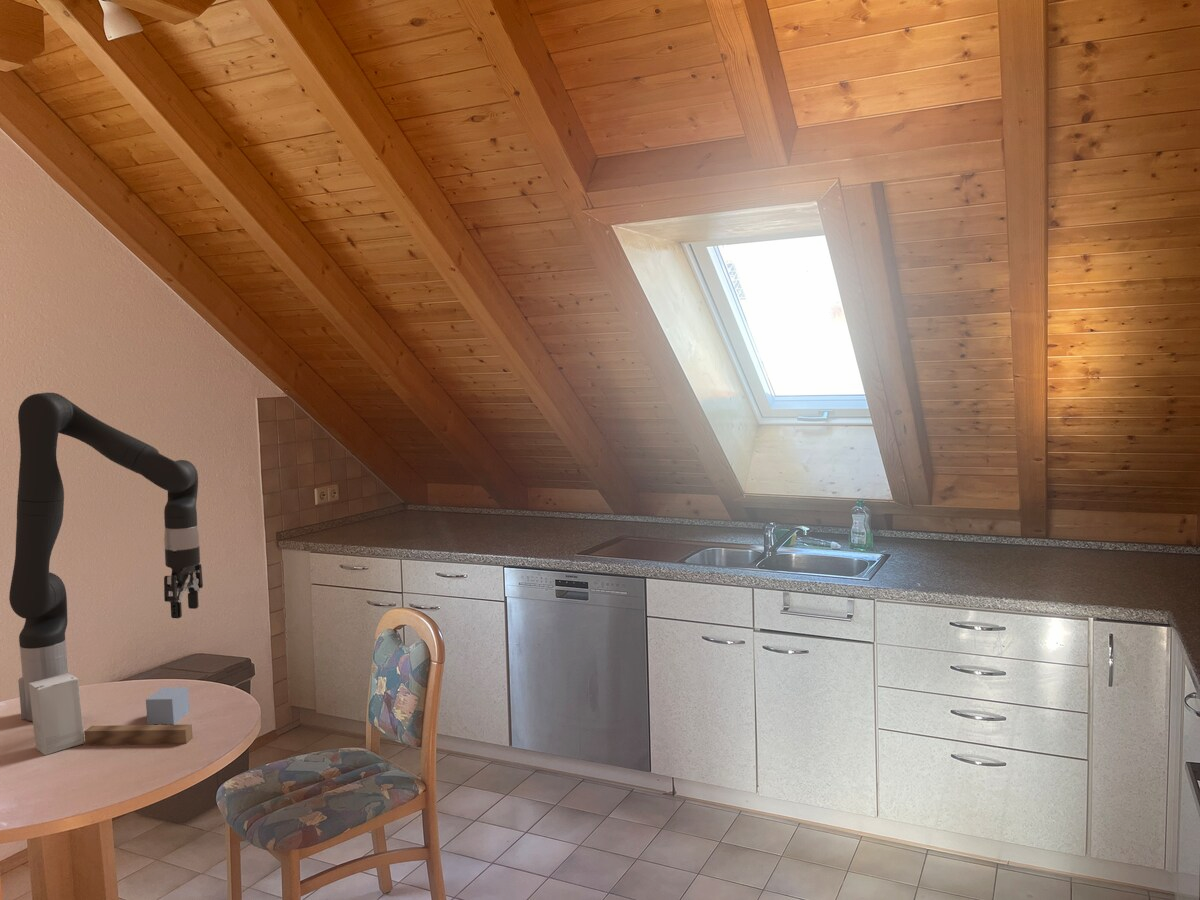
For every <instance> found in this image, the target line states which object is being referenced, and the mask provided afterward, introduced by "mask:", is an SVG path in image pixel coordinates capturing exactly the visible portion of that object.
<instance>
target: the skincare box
mask: <svg viewBox="0 0 1200 900" xmlns="http://www.w3.org/2000/svg"><path fill="white" fill-rule="evenodd" d="M79 681H80V680H79V678H78V677H76V676H75V675H73V674H71V673H70V672H68V673H65V674H62V675H58V676H55V677H51V678H47V679H44V680H40V681H36V682H32V683H29V692H30V701H31V709H32V718H33V721H32V726H33V733H34V743H35V749H37V751H38V752H40V753H41V754H42V755H44V756H47V755H50V754H54V753H56V752H60V751H64V750H67V749H71V748H72V747H77V746H79V745H82V744H85V735H84V731H85V730H84V725H83V715H82V714H83V713H82V704H81V694H80V684H79Z"/></svg>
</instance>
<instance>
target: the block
mask: <svg viewBox="0 0 1200 900" xmlns="http://www.w3.org/2000/svg"><path fill="white" fill-rule="evenodd" d="M189 696H190V694H189V687H188V686H177V687H176V686H175V687H174V686H171V687H170V686H168V687H167V686H165V687H161V688H160V689H159V690H156V692H154V693H153V694H152V695H149V697H147V698H146V699H145V706H146V709H145V710H146V720H147V725H154V724H167V725H170V724H172V725H176V723H178V722H179V721H180V720H181V719H182V718H184V717H185V716H186V715H187V714H189V713H190V711H191V710H190V697H189Z"/></svg>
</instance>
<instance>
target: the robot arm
mask: <svg viewBox="0 0 1200 900" xmlns="http://www.w3.org/2000/svg"><path fill="white" fill-rule="evenodd" d="M17 422H18V434H19V444H20V445H19V446H20V448H19V449H20V453H19V455H20V456H19V459H20V460H19V472H18V489H17V496H16V497H17V500H16V501H17V502H16V529H15V555H14V564H13V570H12V574H11V575H12V576H11V582H10V586H9V587H10V588H9V597H8V598H9V599H8V600H9V604H10V608H11V609H12V610H13V612H14V614H16V615H17V616H18V617H20V618H22V619H24V620H25V621H24V625H23V628H22V630H21V631H20V633H19V636H18V644H19V645H18V646H19V652H20V653H19V655H20V664H21V677H20V678H18V681H17V682H18V692H19V706H20V716H21V720H27V721H29V722H33V718H32V709H31V701H30V692H29V683H32V682H36V681H40V680H44V679H47V678H51V677H55V676H58V675H62V674H65V673H69V666H68V657H67V642H66V629H67V627H68V621H69V619H68V600H67V599H68V596H67V590H66V587H65V583H64V582H63V580H62V579H61V577H60V576H58V575H57V574H55V573H53V572H51V571H50V562H51V556H52V553H53V552H52V551H53V549H54V546H55V544H56V541H57V538H58V535H59V533H60V530H61V526H62V524H63V518H64V505H65V491H64V490H65V489H64V484H63V480H62V476H61V472H60V469H59V466H58V461H57V447H58V438H59V437H58V436H59V434H61V435H65V436H67V437H71V438H73V439H76V440H78V441H80V442H82V443H84V444H86V445H88V446H89V447H91V448H92V449H95V451H96V452H99V454H101V455H102V456H103V457H105V458H107V459H108V460H110V461H111V462H113V463H114V464H116V465H119V466H121V467H123V468H124V469H127V470H130V471H132V472H133V473H136V474H139V475H141V476H142V477H143V478H144V479H146V480H148V481H149V482H151V483H153V484H154V485H155V486H157V487H159V488H160V489H163V490H165V491H167V502H166V504H165V506H164V508H163V509H164V510H163V511H164V512H163V515H164V517H163V518H164V536H163V537H164V538H163V540H164V541H163V542H164V561H165V563H164V564H165V566H166V567H167V568H170V569H171V575H164V578H163V588H164V589H163V590H164V591H163V593H164V595H163V596H164V598H163V599H164V602H166V603H167V602H168V603H169V604H170V617H171V618H172V619H180V618H182V617H183V613H182V611H183V609H182V608H183V607H182V598H183V595H184V594H186V591H187V607H188V609H190V610H191V609H194V610H195V609H198V608H199V607H200V606H199V593H200V589H202V588H203V585H204V584H203V570H202V569H203V568H202V564H201V556H200V555H201V554H200V553H201V552H200V535H199V529H198V514H197V500H198V490H199V475H198V474H199V473H198V470H197V468H196V466H195V465H194V464H193V463H192V462H191V461H188V460H184V459H178V460H173V459H171V458H169V457H167V456H165V455H163V454H161V453H160V452H159V450H158V449H157V448H155V447H154V446H153V445H150V444H148V443H146V442H144V441H142V440H140V439H138V438H136V437H133V436H131V435H130V434H127V433H125V432H123V431H121V430H119V429H116V428H115V427H113V426H111V425H109V424H107V423H105V422H103V421H102V420H99V419H98V418H96V417H95V416H94V415H91V414H89V413H88V412H87V411H85V410H84V409H82V408H81V407H80V406H78V405H76V404H75V403H73V402H72V401H71V400H69V399H68V398H66V397H65V396H63V395H61V394H59V393H57V392H56V393H55V392H41V393H33V394H31V395H29V396H27V397H26V398H25V399H23V401H22V402H21V403H20V405H19V408H18V415H17Z"/></svg>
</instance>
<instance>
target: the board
mask: <svg viewBox="0 0 1200 900" xmlns="http://www.w3.org/2000/svg"><path fill="white" fill-rule="evenodd" d="M83 731H84V741H85V743H84V745H85V746H87V745H92V746H93V745H95V746H97V745H153V744H155V745H156V744H157V745H159V744H161V745H162V744H163V745H164V744H165V745H166V744H170V745H171V744H173V745H174V744H188V743H189V742H191V740H192V739H193V737H194V736H193V724H192V723H191V724H189V723H188V724H172V725H148V724H133V725H132V724H130V725H129V724H125V725H120V724H119V725H118V724H117V725H91V726H90V727H87V729H85V730H83Z"/></svg>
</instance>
